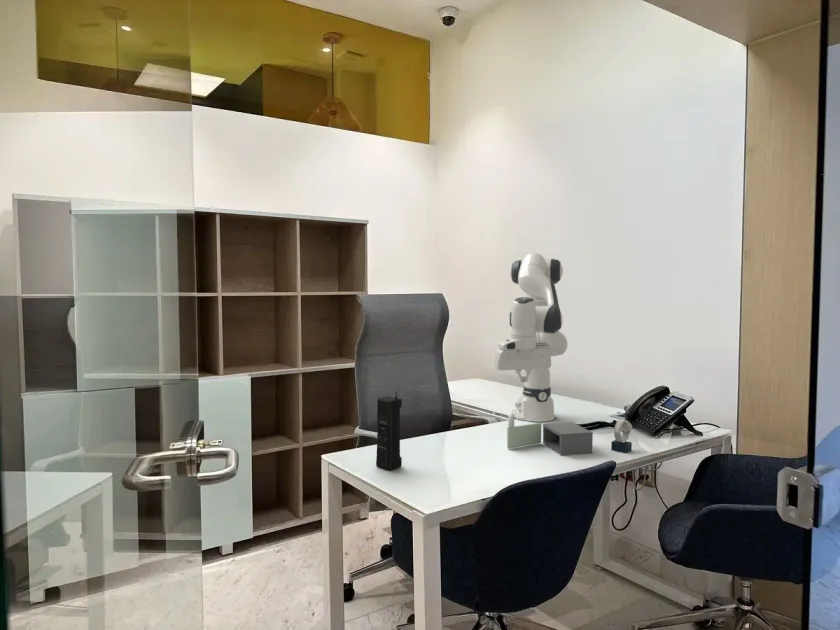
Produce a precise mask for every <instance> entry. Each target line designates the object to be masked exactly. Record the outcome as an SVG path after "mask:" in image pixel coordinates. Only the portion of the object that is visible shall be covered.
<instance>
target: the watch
mask: <svg viewBox="0 0 840 630" xmlns="http://www.w3.org/2000/svg"><path fill="white" fill-rule="evenodd" d="M632 429H633V426H632V424H631V422H630V421H628V420H626V419H618V420H617V421H616V422H615V425H614V429H613V430H614V432H613V435H614V440H613V441H611V445H610V446H611V449H610V451H614V452H617V453H623V454H628V453H630V452H632V449H633V448H632V443H633V442H632V441H628V440H629V437H630V434H631V432H632Z"/></svg>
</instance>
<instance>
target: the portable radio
mask: <svg viewBox="0 0 840 630" xmlns="http://www.w3.org/2000/svg"><path fill="white" fill-rule="evenodd" d="M397 394H398V393H397V392H395V397H393V396H381V397H377V424H376V425H377V426H376V427H377V428H376V429H377V431H376V432H377V435H376V458H375V459H376V462H375V465H376V467H379V468H380V469H384V470H386V471H390V472H391V471H394V470H396V469H397V470H398V469H399V468H401V467H402V463H403V462H402V459H403V458H402V456H401V408H403V406H402V405H403V402H402V401H403V400H402V398H398V396H397Z"/></svg>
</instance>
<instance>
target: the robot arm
mask: <svg viewBox="0 0 840 630" xmlns="http://www.w3.org/2000/svg"><path fill="white" fill-rule="evenodd" d="M561 263H562V262H561V261H560V260H559V259H555V258H551V259H549V258H545V257H544V256H543V255H541V254H540V253H537V252H530V253H528V254H526V256H524V257H523V259H520V260H519V259H518V260H515V261H514V262H512V263H511V266H510V269H509V275H510V278H511V281H512V282H513V283H514V284H517V285H518V286H519V289H521V290H522V292H524V294H525V295H524V297H523V296H522V297H521V296H520V297H517V298H514V299H513V301H512V305H511V311H510V312H509V326H510V327H511V333H510V336H509V338H506V339H504V340H501V341H499V342H498V343H497V347H498V349H497V350H496V352H495V359H494V367H495V369H497V370H498V371H515V374H516V375H517V377H518V381H517V382H518V383H524V386H523V388H522V395H521V396H520V397H519V398H518V399H517V401H516V402H515V403H514V407H515V409H512V410H511V414H514V418H516V420H519V421H520V420H521V421H528V422H534V423H535V422H536V423H542V422H543V423H546V422H551V421H553V420H554V419H556V418H558V416H557V414H555V406H554V404H555V403H554V399H553V398H552V397H551V396H552V388H551V371H550V368H551V367H552V358H551V357H558V356H563V355H564V354H565V353H566V351H567V349H568V340H567V337H566V335H565V334H563V333H562V332H561V331H560V330H561V328H562V326H563V321H564V319H563V318H564V317H563V314H562V312H561V307H560V304H559V299H558V294H557V290H556V284H558V283H559V282H560V281H561V279H562V277H563V273H564V271H563V269H564V268H563V266H562V264H561ZM522 370H523V374H524V375H521V374H522Z"/></svg>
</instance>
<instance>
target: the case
mask: <svg viewBox="0 0 840 630" xmlns="http://www.w3.org/2000/svg"><path fill="white" fill-rule="evenodd" d="M593 434H594V433H593V431H591V430H589V429H588V428H587V429H586V428H585V427H583V426H581V425H579V424H577V423H575V422H573V421H569V422H568V421H567V422H552V423H551V422H550V423H548V422H547V423H542V444H543V445H544V446H546V447H547V448H549V449H551V451H554V452H555V453H557V455H559V456H572V455H586V454H587V455H589V454H593V443H594V441H593V440H594V439H593Z"/></svg>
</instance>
